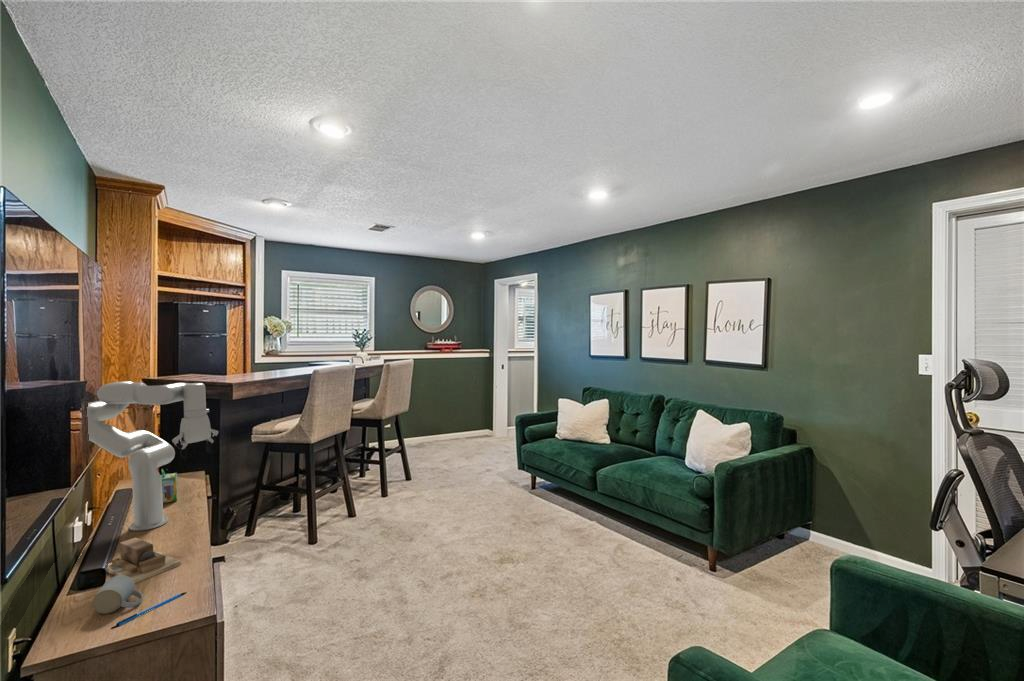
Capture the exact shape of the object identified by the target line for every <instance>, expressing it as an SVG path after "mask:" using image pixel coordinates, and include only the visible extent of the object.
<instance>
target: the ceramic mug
mask: <svg viewBox="0 0 1024 681" xmlns="http://www.w3.org/2000/svg"><path fill="white" fill-rule="evenodd" d="M132 596H134V597H135V598H138V599H139V600H136V601H134V602H133V601H132V602H131V601H130V602H129V601H128V600H129V599H130V597H132ZM143 598H144V595H143V593H141V592H140V591H139V590H136V583H135V582H134V581H133V579H131V578H130V577H128V576H125V575H118V576H114V575H113V576H112V577H110V578H109V579H107V581H106V582H105V583H104V584H103V585H102V587H101V588H100V589H99V590H98V591H97V592H96V594H95V595H94V597H93V599H92V608H93V610H94V611H95V612H97V613H99V614H102V615H106V614H111V613H114V612H116V611H117V610H118V609H120V608H121V607H122V608H130V609H131V608H134V607H137V606H139V605H140V604H141V603H142V602H143Z"/></svg>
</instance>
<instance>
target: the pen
mask: <svg viewBox="0 0 1024 681" xmlns="http://www.w3.org/2000/svg"><path fill="white" fill-rule="evenodd" d="M185 594H187V591H185V592H181V593H179V594H176V595H174V596H173V597H169V598H168V599H166V600H164V601H162V602H160V603H157V604H156V605H154V606H151V607H149V608H147V609H145V610H143V611H141V612H139V613H134V614H133V615H131V616H129V617H127V618H125V619H123V620H120V621H118V622H116V624H115V625H113V626H112V627H110V629H111V630H113V629H115V628H116V627H117V628H118V627H120V626H122V625H124V624H126V623H129V622H130V621H132V620H135V619H136V617H137V618H139V617H140V616H139V615H141V616H143V615H145V614H146V613H145V612H147V611H149V610H151V609H153V608H155V609H157V608H159V607H161V606H164V605H165V604H167V603H169V602H172V601H174V600H177V599H178V598H181V597H182V596H183V595H185ZM156 607H157V608H156ZM153 610H154V609H153ZM151 611H152V610H151ZM149 612H150V611H149ZM144 613H145V614H144ZM147 613H148V612H147ZM142 614H143V615H142ZM138 616H139V617H138ZM134 618H135V619H134Z"/></svg>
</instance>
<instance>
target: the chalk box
mask: <svg viewBox="0 0 1024 681" xmlns="http://www.w3.org/2000/svg"><path fill="white" fill-rule="evenodd" d="M160 472H161V474H160V476H161V479H162V498H163V504H166V503H172V502H176V501H178V498H179V486H178V485H179V483H178V482H179V481H178V472H173V473H166V472H165V470H164V469H163V468H161V471H160Z"/></svg>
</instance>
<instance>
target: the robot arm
mask: <svg viewBox="0 0 1024 681" xmlns="http://www.w3.org/2000/svg"><path fill="white" fill-rule="evenodd" d="M96 394H97V395H96V396H97V398H98V400H97V401H96V400H95V401H91V402H87V403H88V407H87V417H88V434H89V440H88V441H90V442H92V443H94V444H95V445H97V446H98V447H100V448H102V449H103V450H104V451H107V452H108V453H109V454H111V455H112V456H115V457H118V458H127V457H129V459H128V468H129V472H130V476H131V484H132V487H131V488H132V503H133V522H131V523H130V524H129V530H130V531H136V532H139V531H147V530H152V529H155V528H158V527H160V526H164V525H165V524H166V523H168V521H169V517H168V516H165V515H164V506H163V505H164V503H163V498H162V479H161V476H160V475H161V474H160V472H159V470H158V469H159V468H160V467H163V466H165V465H167V464H170V463H171V462H172V461H173V460H174V458H175V457H176V456H175V455H176V451H175V448H174V447H173V446H172V445H171V444H170V443H169V442H167V441H166V440H164V439H163V438H161V437H159V436H158V435H156V434H154V433H152V432H150V431H148V430H144V429H136V430H132V431H128V432H126V431H123V430H121V429H118V428H117V427H116V426H113V424H108V423H106V422H105V423H104V421H108V420H112V419H115V418H116V417H118V415H120V414H121V413H122V412H123V411H124V410H125V409H127V408H128V407H129V405H130V404H133V405H134V404H138V405H139V404H140V405H143V406H144V405H145V406H149V405H151V406H153V405H155V406H156V405H168V404H172V403H173V404H174V403H176V402H182V401H183V418H181V422H180V428H179V434H178V435H177V436H175V437H174V438H172V440H171V442H172V444H174V446H175V447H176V448H178V450H179V457H180V458H181V459H183V460H186V459H187V458H188V452H187V451H188V449H187V448H186V447H187V446H188V445H189V444H192V443H199V442H203V441H206V443H205V452H206V453H210V454H211V453H213V449H214V446H213V445H214V444H213V443H214V442H215V441H216V439H217V436H218V435H219V430H216V429H213V428H212V427H211V422H210V418H209V416H208V413H210V408H207V401H206V399H207V398H206V397H207V396H206V385H205V384H204V383H203V382H192V383H189V382H175V383H168V384H163V385H162V384H161V385H147V384H146V383H145V382H133V381H130V380H123V381H116V382H110V383H106V384H104V385H102V386H101V387H99V389H98V390H97V393H96ZM179 441H180V443H179Z"/></svg>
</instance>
